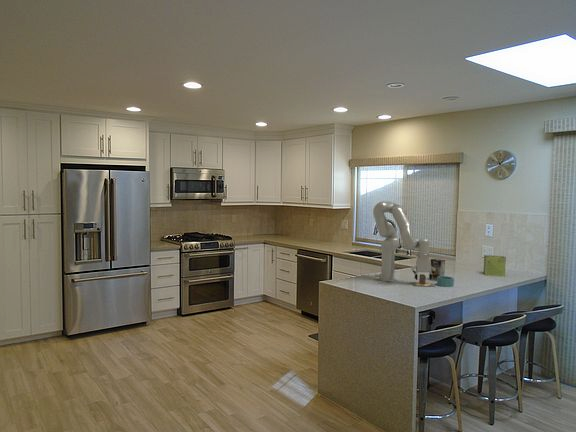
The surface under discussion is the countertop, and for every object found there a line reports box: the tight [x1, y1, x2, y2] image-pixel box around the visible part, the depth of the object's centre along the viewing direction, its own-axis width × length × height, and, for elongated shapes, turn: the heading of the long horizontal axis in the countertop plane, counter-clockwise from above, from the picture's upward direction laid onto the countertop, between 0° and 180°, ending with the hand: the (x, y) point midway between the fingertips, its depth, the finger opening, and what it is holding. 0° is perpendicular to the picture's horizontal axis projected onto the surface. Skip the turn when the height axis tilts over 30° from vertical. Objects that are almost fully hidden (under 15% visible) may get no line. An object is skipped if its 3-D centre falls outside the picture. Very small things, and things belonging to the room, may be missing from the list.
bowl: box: [436, 275, 455, 288], centre depth 314 cm, size 11×11×6 cm
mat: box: [409, 281, 436, 288], centre depth 315 cm, size 15×15×1 cm
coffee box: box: [430, 258, 446, 282], centre depth 332 cm, size 9×6×16 cm
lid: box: [412, 274, 433, 286], centre depth 315 cm, size 13×13×7 cm
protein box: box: [483, 254, 507, 277], centre depth 360 cm, size 10×15×16 cm
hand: (423, 279), depth 315 cm, fingers open, 9 cm apart
